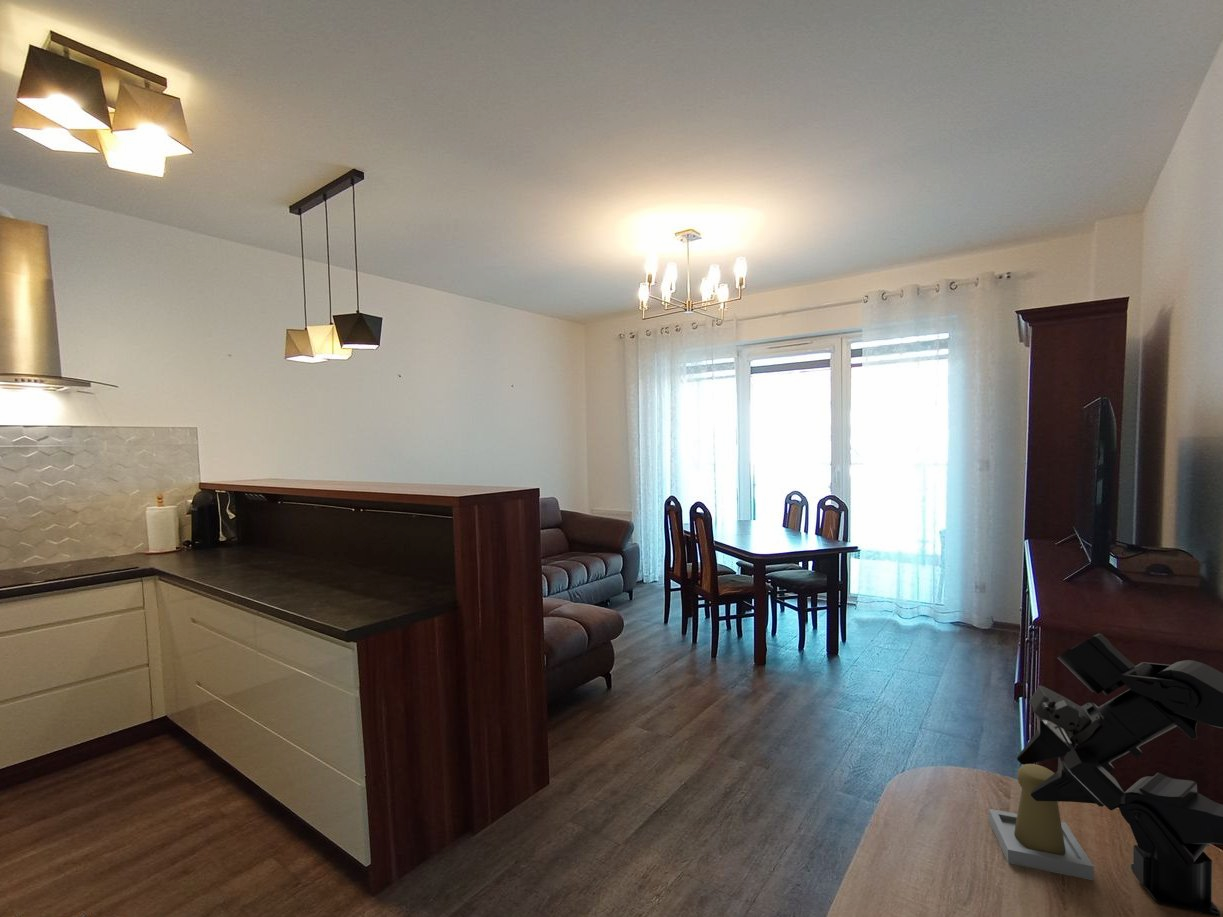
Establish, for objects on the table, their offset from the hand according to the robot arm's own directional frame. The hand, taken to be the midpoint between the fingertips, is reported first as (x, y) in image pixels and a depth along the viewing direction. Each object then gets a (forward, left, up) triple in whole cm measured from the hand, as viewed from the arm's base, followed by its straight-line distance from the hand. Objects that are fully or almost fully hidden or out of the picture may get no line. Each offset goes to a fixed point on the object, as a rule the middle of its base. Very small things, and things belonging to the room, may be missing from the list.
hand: (1025, 778), depth 81 cm
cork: (-2, 0, -9) cm, 9 cm away
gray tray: (-1, 0, -10) cm, 10 cm away
